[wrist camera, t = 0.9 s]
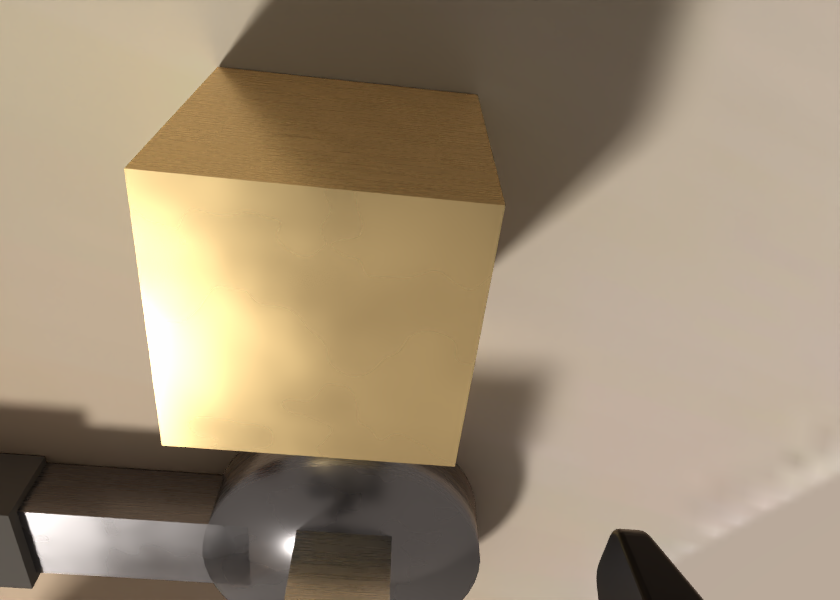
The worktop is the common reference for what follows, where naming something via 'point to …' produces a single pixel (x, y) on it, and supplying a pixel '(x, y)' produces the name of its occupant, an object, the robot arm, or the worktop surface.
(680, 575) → the robot arm
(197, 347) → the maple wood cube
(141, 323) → the worktop surface
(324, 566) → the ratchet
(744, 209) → the worktop surface
